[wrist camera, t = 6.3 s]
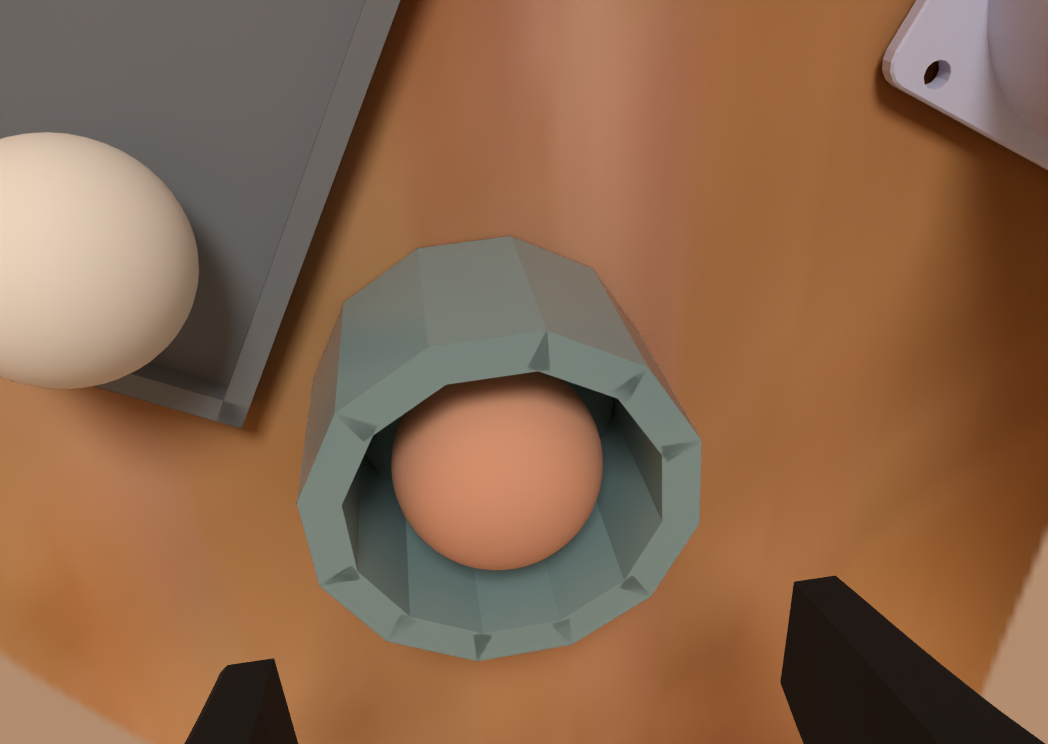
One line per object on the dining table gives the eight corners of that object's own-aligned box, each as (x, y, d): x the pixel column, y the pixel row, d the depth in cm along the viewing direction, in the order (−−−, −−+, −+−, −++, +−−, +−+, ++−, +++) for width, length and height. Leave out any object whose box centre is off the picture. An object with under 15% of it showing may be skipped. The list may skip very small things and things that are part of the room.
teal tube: (696, 309, 18) (773, 412, 15) (555, 548, 21) (591, 686, 18) (389, 187, 16) (392, 274, 13) (275, 473, 19) (251, 612, 15)
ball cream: (244, 161, 15) (205, 242, 12) (184, 348, 17) (133, 468, 13) (-3, 66, 14) (-128, 125, 11) (-44, 279, 16) (-163, 390, 12)
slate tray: (478, -221, 13) (484, -228, 13) (247, 404, 18) (241, 428, 17) (-20, -511, 11) (-51, -541, 10) (-137, 292, 16) (-164, 313, 15)
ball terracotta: (572, 308, 17) (626, 413, 14) (580, 469, 19) (629, 595, 16) (373, 336, 17) (378, 452, 14) (402, 498, 19) (412, 634, 16)
